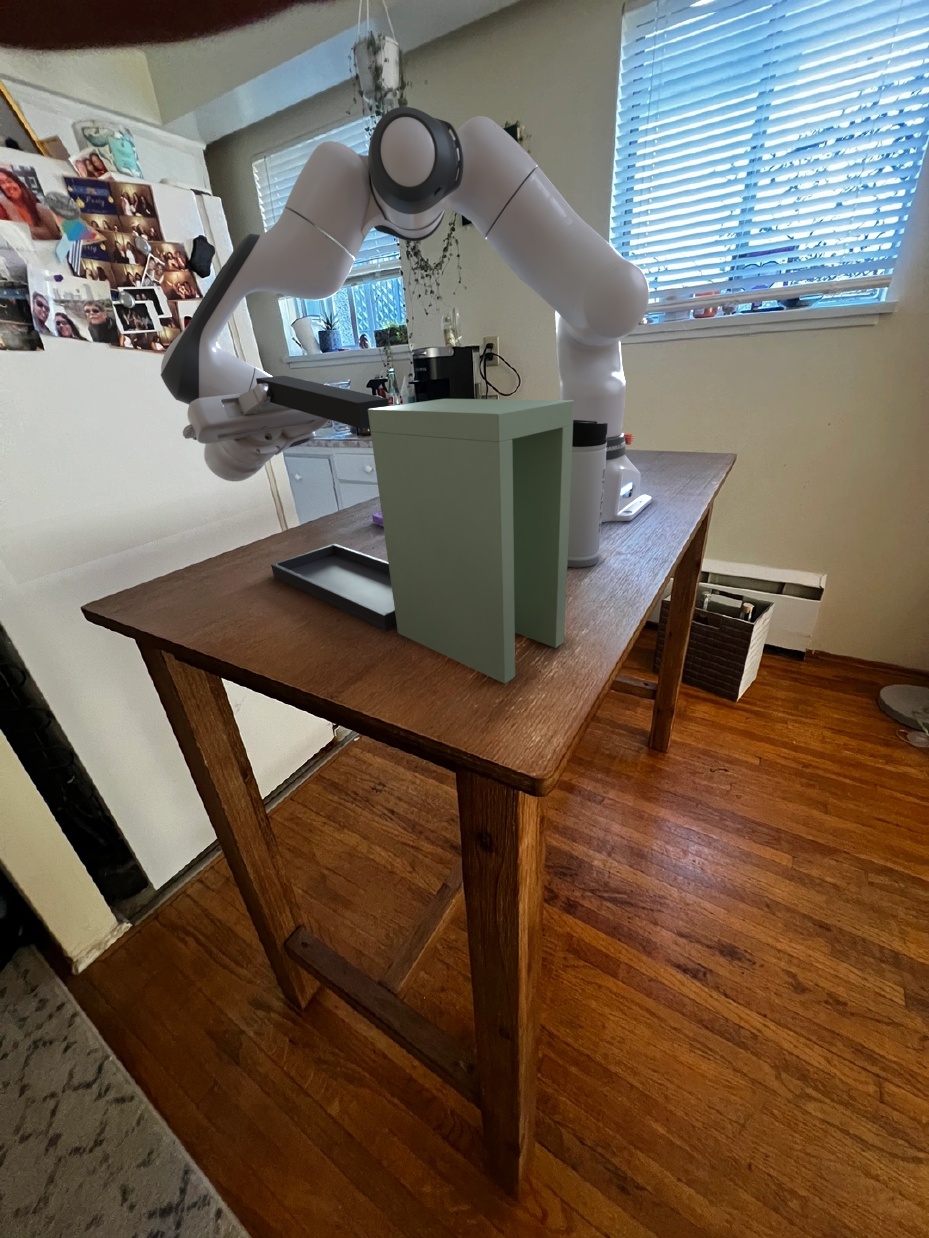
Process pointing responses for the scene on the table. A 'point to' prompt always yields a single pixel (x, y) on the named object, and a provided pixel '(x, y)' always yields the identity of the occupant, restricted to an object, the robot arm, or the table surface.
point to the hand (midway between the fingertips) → (286, 387)
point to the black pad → (323, 400)
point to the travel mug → (586, 492)
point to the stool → (476, 523)
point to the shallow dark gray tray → (343, 582)
